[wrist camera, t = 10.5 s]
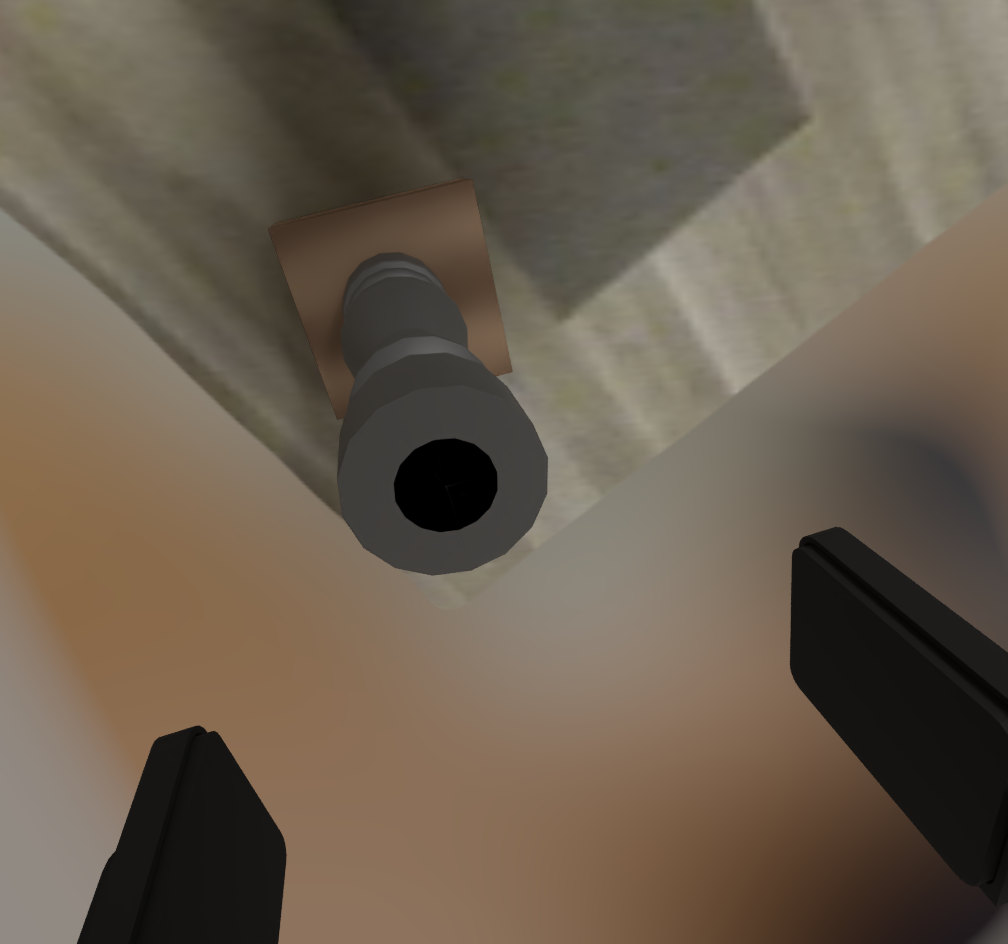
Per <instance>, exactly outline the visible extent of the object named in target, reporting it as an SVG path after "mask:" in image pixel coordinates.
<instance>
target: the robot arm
mask: <svg viewBox="0 0 1008 944" xmlns="http://www.w3.org/2000/svg"><path fill="white" fill-rule="evenodd" d="M790 644H791V645H790V669H791V673H792V675H793V678H794V680H795V682H796V683H797V685H798V687H799V688H800V690H801V691H802V692H803V693H804V694H805V695H806V697H807V698H808V699H809V700H810V701H811V703H812V704H813V705H814V706H815V707H816V709H817V710H818V711H819V712H820V713H821V715H822V716H823V717H824V718H825V719H826V721H827V722H828V723H829V724H830V725H831V726H832V728H833V729H834V730H835V731H836V732H837V733H838V735H839V736H840V737H841V738H842V740H843V741H844V742H845V743H846V744H847V745H848V747H849V748H850V749H851V750H852V751H853V753H854V754H855V755H856V756H857V757H858V759H859V760H860V761H861V762H862V763H863V764H864V766H865V767H866V768H867V769H868V770H869V772H870V773H871V774H872V775H873V776H874V778H875V779H876V780H877V781H878V782H879V783H880V785H881V786H882V787H883V788H884V790H885V791H886V792H887V793H888V794H889V795H890V797H891V798H892V799H893V800H894V801H895V803H896V804H897V805H898V806H899V807H900V809H901V810H902V811H903V812H904V813H905V814H906V816H907V817H908V818H909V819H910V820H911V822H913V824H914V825H915V826H916V828H917V829H918V830H919V831H920V832H921V833H922V834H923V836H924V837H925V838H926V839H927V841H928V842H929V843H930V844H931V845H932V847H933V848H934V849H935V850H936V851H937V853H938V854H939V855H940V856H941V857H942V858H943V860H944V861H945V862H946V863H947V864H948V866H949V867H950V868H951V869H952V870H953V872H954V873H955V874H956V875H957V876H958V877H959V878H960V879H961V880H963V881H964V882H965V883H966V884H968V885H970V886H977V885H978V886H979V887H980V889H981V890H982V891H983V892H984V893H985V894H986V896H987V897H988V898H989V899H990V900H991V901H992V903H993V904H994V905H995V906H996V907H997V906H1000V905H1002V904H1005V903H1007V902H1008V652H1006V651H1005V650H1004V649H1002V648H1001V647H1000V646H999V645H997V644H996V643H995V642H993V641H992V640H991V639H989V638H988V637H987V636H985V635H984V634H983V633H981V632H980V631H979V630H977V629H976V628H975V627H973V626H972V625H971V624H969V623H968V622H967V621H965V620H964V619H963V618H961V617H960V616H959V615H957V614H956V613H955V612H953V611H952V610H951V609H949V608H948V607H947V606H945V605H944V604H943V603H942V602H940V601H939V600H937V599H936V598H935V597H934V596H932V595H931V594H930V593H928V592H927V591H926V590H924V589H923V588H921V587H920V586H919V585H918V584H916V583H915V582H914V581H912V580H911V579H910V578H908V577H907V576H906V575H904V574H903V573H902V572H900V571H899V570H898V569H897V568H895V567H894V566H893V565H891V564H890V563H889V562H887V561H886V560H885V559H883V558H882V557H881V556H879V555H878V554H877V553H875V552H874V551H873V550H871V549H870V548H869V547H867V546H866V545H865V544H863V543H862V542H861V541H859V540H858V539H857V538H856V537H854V536H853V535H852V534H850V533H849V532H848V531H846V530H844V529H843V528H840V527H834V528H831V529H828V530H825V531H821V532H818V533H815V534H812V535H808V536H805V537H803V538H802V539H801V541H800V543H799V548H797V549H795V550H794V551H793V553H792V583H791V638H790ZM285 868H286V847H285V842H284V838H283V836H282V834H281V832H280V830H279V829H278V827H277V825H276V824H275V822H274V821H273V819H272V817H271V816H270V814H269V813H268V811H267V810H266V808H265V806H264V805H263V803H262V802H261V800H260V798H259V797H258V795H257V794H256V792H255V790H254V789H253V787H252V786H251V784H250V783H249V781H248V779H247V778H246V776H245V775H244V773H243V772H242V770H241V768H240V767H239V765H238V763H237V762H236V761H235V759H234V757H233V755H232V754H231V752H230V751H229V749H228V748H227V746H226V744H225V743H224V741H223V740H222V738H221V737H220V735H219V734H218V733H217V732H215V731H211V732H208V733H207V731H206V730H205V729H204V728H203V727H201V726H194V727H191V728H187V729H184V730H181V731H178V732H175V733H171V734H168V735H165V736H162V737H159V738H158V739H156V740H155V742H154V744H153V745H152V747H151V750H150V754H149V756H148V759H147V762H146V765H145V767H144V770H143V773H142V776H141V779H140V782H139V785H138V788H137V791H136V793H135V796H134V800H133V802H132V805H131V808H130V811H129V814H128V817H127V819H126V822H125V825H124V828H123V831H122V834H121V837H120V840H119V843H118V845H117V848H116V851H115V852H114V853H113V854H112V856H111V857H110V858H109V859H108V861H107V863H106V865H105V867H104V870H103V872H102V874H101V877H100V880H99V883H98V885H97V888H96V891H95V894H94V897H93V900H92V902H91V905H90V908H89V911H88V914H87V917H86V919H85V922H84V925H83V928H82V931H81V933H80V936H79V939H78V942H77V944H278V940H279V930H280V920H281V909H282V898H283V889H284V879H285Z"/></svg>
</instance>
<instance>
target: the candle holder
mask: <svg viewBox="0 0 1008 944" xmlns="http://www.w3.org/2000/svg"><path fill="white" fill-rule="evenodd" d="M342 310H343V318H344V323H343V326H342V330H341V343H342V351H343V359H344V362H345V363H346V365H347V367H348V368H349V370H350V372H351V374H352V375H353V377H354V379H355V380H354V384H353V387H352V390H351V393H350V397H349V405H348V408H347V411H346V415H345V418H344V421H343V424H342V428H341V431H340V438H339V456H338V473H337V482H338V489H339V495H340V502H341V509H342V516H343V518H344V520H345V521H346V523H347V524H348V526H349V527H350V529H351V530H352V532H353V533H354V534H355V536H356V537H357V539H358V540H359V542H360V543H361V545H362V546H363V548H365V549H366V550H368V551H369V552H371V553H373V554H374V555H376V556H377V557H379V558H381V559H382V560H383V561H385V562H387V563H388V564H390V565H391V566H393V567H395V568H398V569H403V570H408V571H413V572H418V573H423V574H428V575H441V574H448V573H456V572H463V571H470V570H473V569H475V568H477V567H479V566H481V565H483V564H485V563H487V562H489V561H491V560H493V559H495V558H498V557H500V556H502V555H504V554H506V553H507V552H508V551H509V550H510V549H511V548H512V547H513V546H514V545H515V544H516V543H517V542H518V541H519V540H520V539H521V538H522V537H523V536H524V535H525V534H526V533H527V532H528V531H529V530H530V529H531V528H532V526H533V524H534V522H535V519H536V517H537V515H538V513H539V511H540V508H541V506H542V504H543V502H544V499H545V497H546V495H547V472H548V457H547V455H546V452H545V450H544V448H543V446H542V443H541V441H540V439H539V437H538V434H537V432H536V430H535V428H534V425H533V423H532V422H531V420H530V419H529V418H528V416H527V415H526V413H525V412H524V410H523V409H522V407H521V406H520V404H519V403H518V401H517V400H516V399H515V397H514V396H513V394H512V393H511V391H510V390H509V388H508V387H507V386H506V385H505V384H504V383H503V382H501V381H500V380H499V379H498V378H497V377H496V376H495V375H494V374H492V373H491V372H490V371H489V370H488V369H487V368H486V367H485V366H484V364H483V362H482V361H480V360H479V359H478V358H477V357H476V356H475V355H474V354H473V353H471V352H470V351H469V350H468V333H467V326H466V324H465V321H464V319H463V317H462V315H461V313H460V311H459V308H458V306H457V304H456V303H455V302H454V301H453V300H452V299H451V298H450V297H449V296H448V295H447V294H446V291H445V289H444V287H443V285H442V283H441V281H440V280H439V278H438V277H437V276H436V274H435V273H434V272H433V271H432V270H431V269H429V268H428V267H427V266H426V265H425V264H424V263H423V262H422V261H421V260H420V259H417V258H414V257H412V256H409V255H407V254H404V253H401V252H394V253H379V254H377V255H375V256H373V257H371V258H369V259H367V260H365V261H363V262H361V263H360V265H359V266H358V267H357V268H356V269H355V271H354V272H353V273H352V274H351V276H350V277H349V278H348V282H347V285H346V289H345V292H344V296H343V305H342Z"/></svg>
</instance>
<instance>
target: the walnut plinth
mask: <svg viewBox="0 0 1008 944" xmlns="http://www.w3.org/2000/svg"><path fill="white" fill-rule="evenodd" d="M268 230H269V233H270V236H271V239H272V241H273V244H274V247H275V250H276V252H277V255H278V258H279V261H280V263H281V266H282V269H283V272H284V274H285V277H286V280H287V283H288V285H289V288H290V291H291V294H292V296H293V299H294V302H295V305H296V307H297V310H298V313H299V316H300V318H301V321H302V324H303V327H304V329H305V332H306V335H307V338H308V340H309V343H310V346H311V349H312V351H313V354H314V357H315V360H316V362H317V365H318V368H319V371H320V373H321V376H322V379H323V382H324V384H325V387H326V390H327V393H328V395H329V398H330V401H331V404H332V406H333V409H334V412H335V415H336V418H337V420H338V419H342V418H345V415H346V411H347V408H348V405H349V397H350V393H351V390H352V387H353V384H354V380H355V379H354V377H353V375H352V374H351V372H350V370H349V368H348V367H347V365H346V363H345V362H344V359H343V351H342V343H341V330H342V326H343V323H344V318H343V310H342V305H343V296H344V292H345V289H346V285H347V282H348V278H349V277H350V276H351V274H352V273H353V272H354V271H355V269H356V268H357V267H358V266H359V265H360V263H361V262H363V261H365V260H367V259H369V258H371V257H373V256H375V255H377V254H379V253H394V252H401V253H404V254H407V255H409V256H412V257H414V258H417V259H420V260H421V261H422V262H423V263H424V264H425V265H426V266H427V267H428V268H429V269H431V270H432V271H433V272H434V273H435V274H436V276H437V277H438V278H439V280H440V281H441V283H442V285H443V287H444V289H445V291H446V294H447V295H448V296H449V297H450V298H451V299H452V300H453V301H454V302H455V303H456V304H457V306H458V308H459V311H460V313H461V315H462V317H463V319H464V321H465V324H466V326H467V333H468V350H469V351H470V352H471V353H473V354H474V355H475V356H476V357H477V358H478V359H479V360H480V361H482V362H483V364H484V366H485V367H486V368H487V369H488V370H489V371H490V372H491V373H492V374H494V375H495V376H499V375H503V374H506V373H510V372H513V371H512V366H511V362H510V357H509V352H508V347H507V343H506V338H505V333H504V328H503V324H502V319H501V314H500V309H499V305H498V300H497V295H496V290H495V286H494V281H493V276H492V271H491V267H490V262H489V257H488V252H487V248H486V243H485V238H484V233H483V229H482V224H481V219H480V214H479V210H478V205H477V200H476V196H475V191H474V186H473V181H472V179H466V178H460V179H456V180H452V181H448V182H443V183H439V184H435V185H431V186H427V187H423V188H419V189H414V190H410V191H406V192H402V193H398V194H394V195H390V196H386V197H381V198H377V199H373V200H369V201H365V202H361V203H357V204H353V205H348V206H344V207H340V208H336V209H332V210H328V211H324V212H319V213H315V214H311V215H307V216H303V217H299V218H295V219H291V220H286V221H282V222H278V223H275V224H274V225H272V226H271V227H270V228H268Z"/></svg>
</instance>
